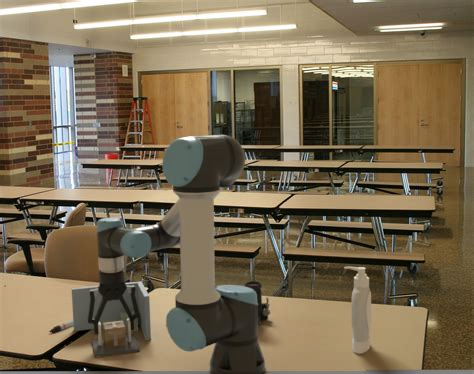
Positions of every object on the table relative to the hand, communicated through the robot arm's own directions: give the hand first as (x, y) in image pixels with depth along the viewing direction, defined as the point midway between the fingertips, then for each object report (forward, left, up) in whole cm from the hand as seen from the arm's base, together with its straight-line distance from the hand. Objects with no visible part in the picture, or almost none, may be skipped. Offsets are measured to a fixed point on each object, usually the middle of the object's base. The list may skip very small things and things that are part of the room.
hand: (114, 342), depth 191 cm
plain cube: (+14, -6, -1) cm, 15 cm away
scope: (+5, -47, -2) cm, 47 cm away
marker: (+23, +13, -2) cm, 27 cm away
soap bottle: (-25, -69, -2) cm, 73 cm away
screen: (+10, -1, -1) cm, 10 cm away
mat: (0, 0, -1) cm, 1 cm away
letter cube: (0, 0, 0) cm, 0 cm away
